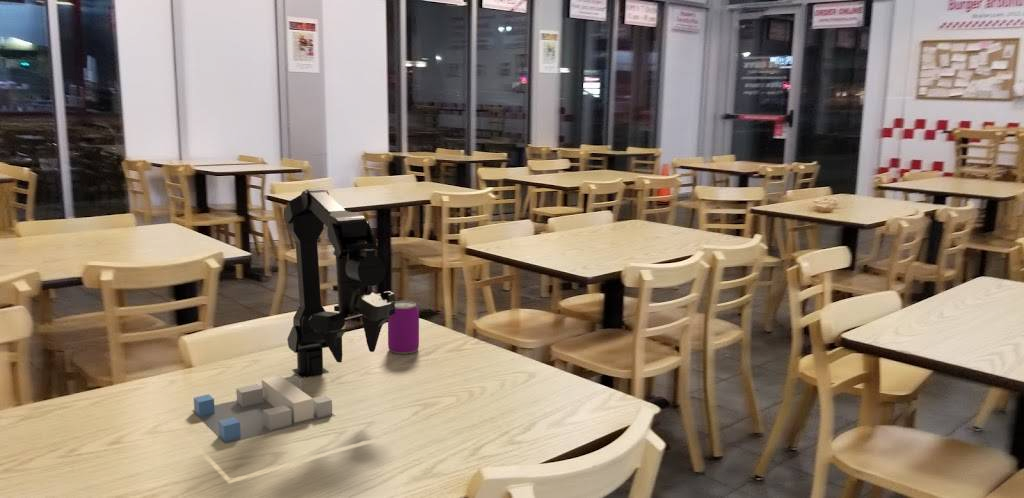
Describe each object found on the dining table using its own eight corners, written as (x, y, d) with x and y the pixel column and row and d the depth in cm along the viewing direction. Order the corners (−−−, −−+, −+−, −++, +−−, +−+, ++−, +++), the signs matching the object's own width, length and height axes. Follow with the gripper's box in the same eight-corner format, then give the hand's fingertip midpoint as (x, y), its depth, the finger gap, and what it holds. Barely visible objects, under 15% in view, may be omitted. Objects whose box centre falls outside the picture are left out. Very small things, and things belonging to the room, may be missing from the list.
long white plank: (262, 397, 172) (261, 379, 171) (280, 393, 174) (279, 375, 173) (294, 422, 159) (293, 403, 158) (313, 417, 162) (313, 398, 161)
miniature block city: (191, 413, 164) (190, 396, 163) (295, 389, 178) (294, 373, 177) (225, 446, 150) (224, 428, 149) (335, 418, 163) (335, 401, 162)
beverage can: (421, 346, 209) (421, 300, 206) (415, 356, 201) (415, 308, 199) (392, 344, 209) (391, 299, 207) (384, 354, 202) (384, 307, 199)
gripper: (347, 290, 150) (351, 373, 151) (413, 275, 165) (417, 350, 167) (304, 286, 156) (309, 366, 158) (372, 272, 171) (376, 345, 173)
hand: (355, 356), depth 164 cm, fingers open, 9 cm apart
